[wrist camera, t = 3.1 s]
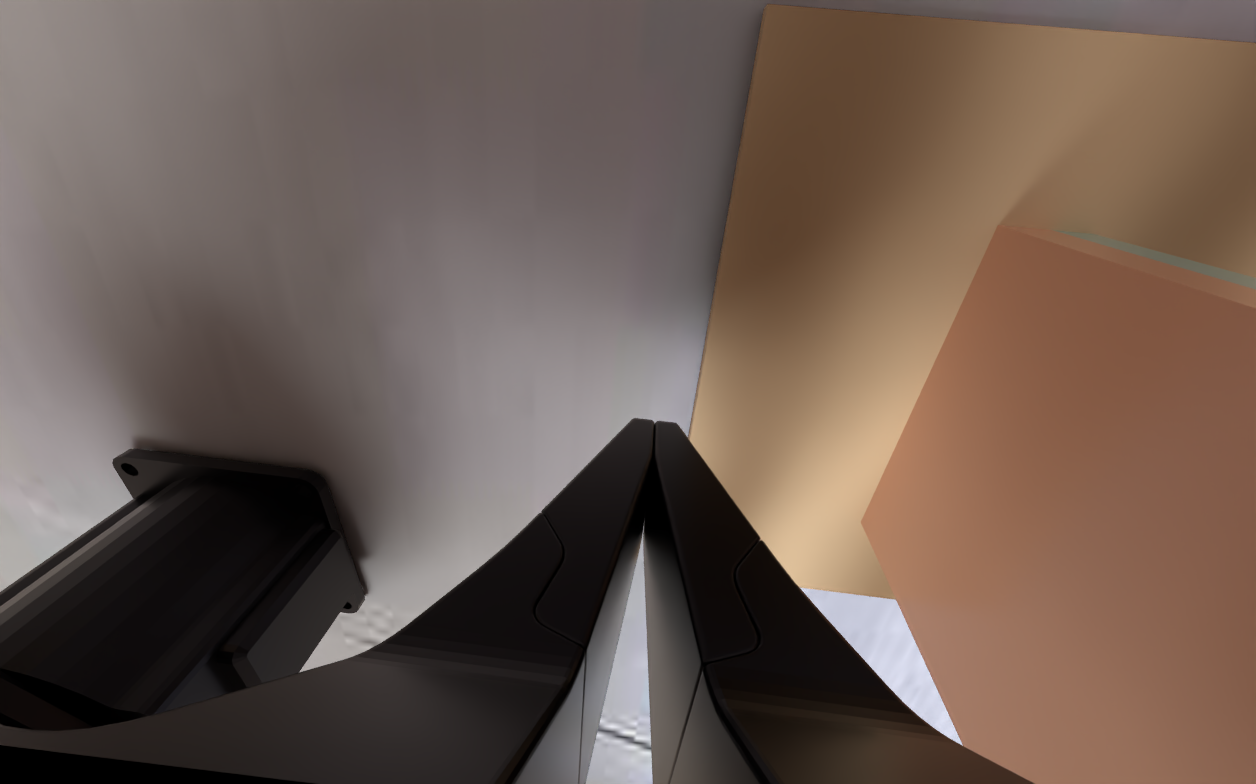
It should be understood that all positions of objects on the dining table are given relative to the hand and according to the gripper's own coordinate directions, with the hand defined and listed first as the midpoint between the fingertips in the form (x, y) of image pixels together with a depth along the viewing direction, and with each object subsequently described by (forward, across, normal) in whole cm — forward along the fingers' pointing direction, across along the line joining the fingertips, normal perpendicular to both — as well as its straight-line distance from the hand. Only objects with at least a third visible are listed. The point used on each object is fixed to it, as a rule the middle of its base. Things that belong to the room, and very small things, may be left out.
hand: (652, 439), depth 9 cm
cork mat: (+3, -9, 0) cm, 10 cm away
